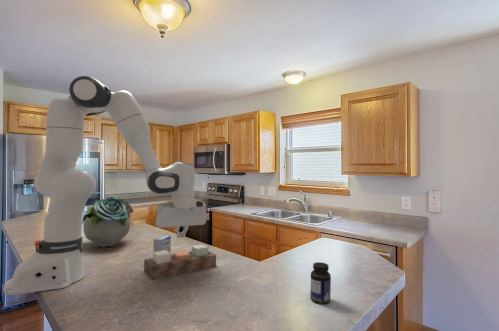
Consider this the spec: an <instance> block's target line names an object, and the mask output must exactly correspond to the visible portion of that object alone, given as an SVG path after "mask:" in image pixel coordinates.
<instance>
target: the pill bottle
mask: <svg viewBox="0 0 499 331" xmlns="http://www.w3.org/2000/svg"><path fill="white" fill-rule="evenodd" d="M312 269H313V270H312V271H311V272H310V292H309V293H310V300H311V301H312V302H314V303H315V304H318V305H319V304H320V305H326V304H329V303H330V301H331V290H332V288H331V286H332V285H331V282H332V280H331V279H332V278H331V276H332V275H331V273H330V272H329V264H328V263H325V262H314V263H313V264H312Z"/></svg>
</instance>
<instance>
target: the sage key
mask: <svg viewBox="0 0 499 331" xmlns="http://www.w3.org/2000/svg"><path fill="white" fill-rule="evenodd" d="M208 251H209V247H208V246H207V245H204V244H196V245H192V246H191V251H190V252H191V254H192V255H194V256H195V257H200V256H205V255H208Z"/></svg>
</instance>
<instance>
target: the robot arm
mask: <svg viewBox="0 0 499 331" xmlns="http://www.w3.org/2000/svg"><path fill="white" fill-rule="evenodd" d="M68 88H69V89H68V92H69V95H70V96H67V97H66V96H60V97H55V98H53V99H52V100H51V101H50V102H49V104H48V109H47V115H46V122H45V123H46V124H45V150H44V154H43V155H44V156H43V160H42V162H41V163H42V164H41V167H40V169H39V172H38V173H37V175H36V176H35V177H34V181H33V185H34V188H35V190H36V191H37V192H38V193H39V194H41V195H42V196H44V197H47V198H50V199H52V202H51V206H50V209H49V211H48V213H47V214H46V215H45V216H44V218H43V220H44V221H43V239H42V240H41V239H37V240H35V241H34V242H33V243H34V244H33V245H34V246H35V252H34V253H32V255H30V256H29V257H27V258H25V260H22V262H20V263H19V264H18V265H17V267H15V270H14V273H13V275H12V278H10V279H9V280H7V281H6V282H5V283H4V285H3V289H2V290H3V291H2V292H3V293H4V294H5V295H8V296H14V295H22V294H30V293H36V292H44V291H51V290H58V289H59V290H60V289H64V288H67V287H69V286H70V285H72V284H73V283H77V282H78V281H81V280H82V279H84V278H85V276H86V273H85V269H84V266H83V260H82V258H83V257H82V253H83V245H84V244H83V241H84V240H83V237H82V226H83V224H82V221H83V215H84V212H85V211H84V210H85V208H86V204H87V202H88V200H89V198H90V197H91V196H92V195H93V194H94V192H95V191H96V187H97V180H96V179H95V177H94V175H92V173H90V172H88V171H86V170H83V169H80V168H76V166H77V162H78V161H79V157H80V156H82V154H83V151H84V119H85V117H91V116H95V115H100V114H103V113H105V112H106V113H107V114H109V116H110V117H111V120H112V121H113V123H114V125H115V127H116V129H117V131H118V133H119V134H120V135H121V137H122V139H124V141H125V142H126V143H127V144H128V145H129V147H130V148H132V150H133V151H134V152H135V154H136V155H137V157H138V159H139V162H140V163H141V165H142V167H143V169H144V171H145V174H146V178H145V179H146V186H147V187H148V189H149V190H150V192H152V193H154V194H156V195H164V194H168V193H171V199H170V200H171V201H170V202H166V203H165V202H162V203H161V202H160V204H157V206H156V211H155V213H156V216H155V221H154V222H155V223H154V224H155V226H156V227H157V228H158V229H165V228H167V229H168V228H174V231H175V232H176V238H177V239H181V238H186V233H187V231H188V230H189V227H190V226H203V225H205V224H206V223H207V211H206V208H205V207H206V202H205V201H202V200H200V199H196V198H195V192H194V189H195V185H196V184H195V183H196V172H195V168H194V166H193V164H191V163H189V162H183V161H175V162H173V163H172V164H170V165H167V166H165V167H162V166H161V164H160V161H159V160H158V159H157V156H156V154H155V152H154V149H153V146H152V143H151V129H150V126H149V123H148V119H147V117H146V115H145V114H144V111H143V110H142V107H141V106H140V104H139V103H138V102H137V99H136V98H135V97H134V95H133V94H132V93H131V92H129V91H127V90H123V89H122V90H115V91H111V89H110V88H109V87H108V86H106V84H104V83H102V82H101V81H100V80H98V79H96V78H94V77H92V76H88V75H87V76H86V75H81V76H80V75H79V76H77V77H75V78H74V79H72V81H71V82H70V85H69V87H68ZM181 227H183V230H182V231H181V232H180V231H179V230H180V229H181Z"/></svg>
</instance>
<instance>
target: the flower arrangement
mask: <svg viewBox="0 0 499 331" xmlns="http://www.w3.org/2000/svg"><path fill="white" fill-rule="evenodd" d="M92 204H93V205H92V206H91V207H89V208H88V210H85V211H84V213H83V215H82V225H83V233H84V236H85V239H87V240H88V241H90V242H93V243H95V244H96V247H98V246H101V247H100V248H107V247H106V246H111V247H114V246H116V245H117V243H118V242H119V241H121V240H122V239H123V238H125V237H126V236H127V235H128V234H129V232H130V229H131V219H130V216H131V215H130V214H132V213H133V212H134V209H133V205H131V204H130V203H129V202H128V200H126V199H123V198H116V197H114V196H110V197H105V198H101V199H99V200H98V199H96V200H94V202H93V203H92ZM115 244H116V245H115ZM113 245H114V246H113Z"/></svg>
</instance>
